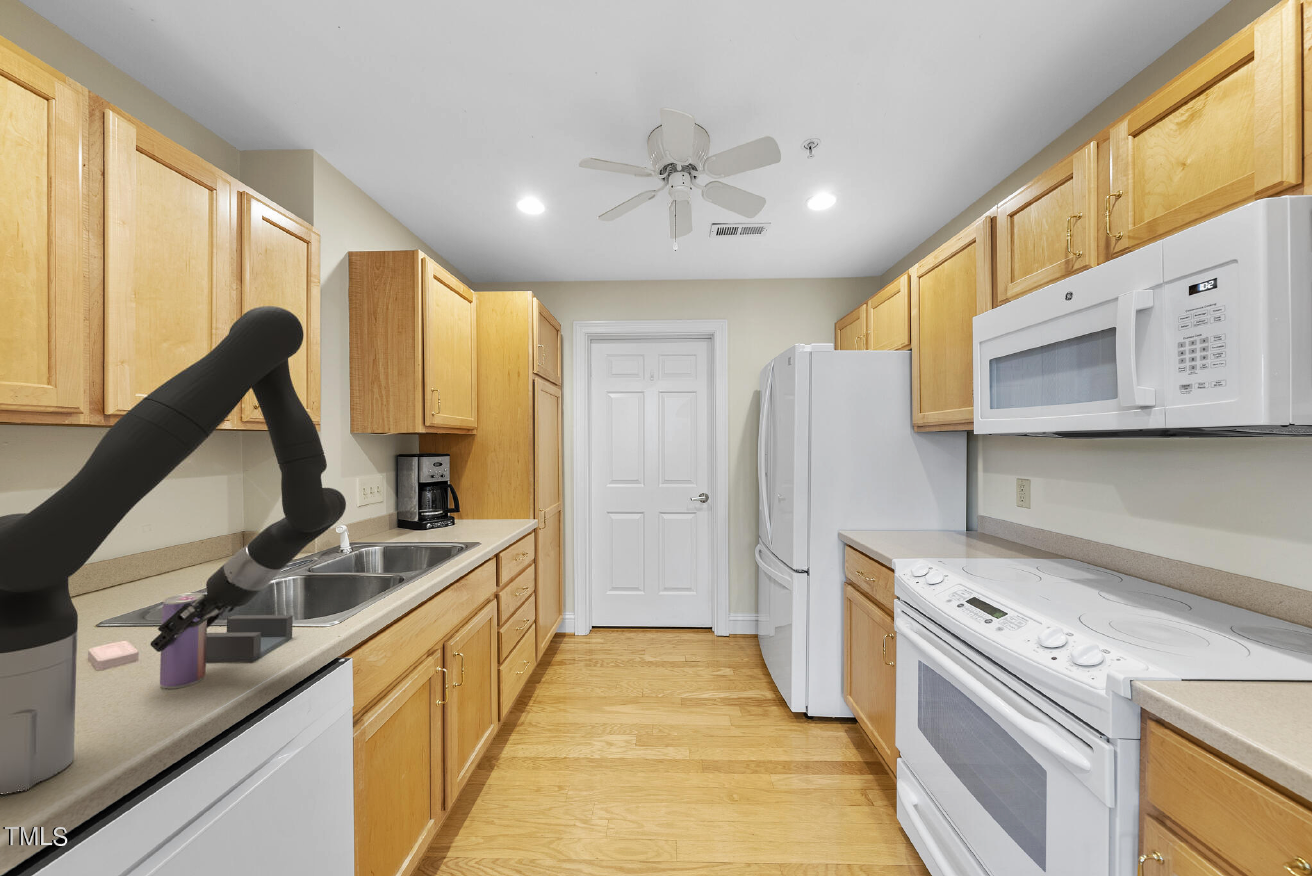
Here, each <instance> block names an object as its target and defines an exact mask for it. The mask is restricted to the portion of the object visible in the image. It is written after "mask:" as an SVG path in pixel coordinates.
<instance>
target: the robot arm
mask: <svg viewBox="0 0 1312 876" xmlns="http://www.w3.org/2000/svg"><path fill="white" fill-rule="evenodd" d="M304 334H305V333H304V329H303V325H302V323H301V321H300V320H299V318H298V316H296V315H295V314H294V313H293V312H291V311H289V310H287V309H285V308H282V307H279V306H271V305H266V306H265V305H264V306H259V307H255V308H251V309H250V310H248V311H246V312H245V313H243V315H242V316H241V315H240V317H239V318H238V319H237V320H236V321H235V322H233V324H232V325H231V327H230V328H229V331H228V334H227V335H226V336H225V337H224V338H223V339H222V340H221V341H220V343H218V344H217V345H216V346H215V347H214V348H213V349H212V350H211V351H209V352H208V353H207V354H206V355H205V356H202V358H200V359H199V360H197V361H196V362H194V363H192V364H191V365H190V366H188V367H187V368H185V369H183V370H181V371H180V372H179V373H177V374H176V375H174V376H172V377H171V378H170V379H168V380H166V381H165V382H164V383H162V384H161V385H159V386H158V387H157V388H156V389H155V390H153V391H151V392H150V393H149V394H147V395H146V396H145V397H144V398H142V399H141V400H140V401H139V402H138V403H136V405H134V406H133V407H132V408H131V409H129V410H128V411H127V412H126V413H125V414H124V415H122V416H121V417H120V418H119V419H118V420H117V421H116V422H115V423H114V424H113V425H112V426H111V427H110V428H109V429H108V430H107V432H106V433H105V435H104V436H102V438H101V440H100V441H99V443H98V444H97V446H96V447H95V448H94V450H93V451H92V453H91V455H90V456H89V458H88V459H87V460H86V462H85V464H83V466H82V467H81V469H80V470H79V471H78V472H77V474H76V475H74V476H73V478H71V480H69V481H68V482H67V483H66V484H65V485H64V486H62V487H61V488H60V489H58V490H57V491H56V492H55V493H53V494H52V495H51V496H50V497H48V498H47V499H46V500H45V501H43V502H42V503H40V504H39V505H37V506H36V507H35V508H34V509H32V510H31V511H29V512H25V513H20V512H19V513H11V514H5V515H1V516H0V794H1V793H3V794H4V793H7V792H8V793H9V792H15V791H18V790H19V791H20V790H25V791H28V790H29V788H30V789H31V788H32V787H34V785H36V783H37V784H39V783H41V782H43V781H45V780H47V779H49V778H51V777H53V776H55V775H57V774H59V773H60V772H62V771H63V770H64V769H67V767H68V766H70V765H71V764H72V762H73V761H74V759H75V736H76V735H75V732H76V730H75V729H76V727H75V726H76V725H75V724H76V721H75V720H76V695H77V694H76V689H77V688H76V687H77V658H78V655H77V653H78V628H79V627H78V625H79V621H78V619H79V618H78V617H79V614H78V611H77V609H76V607H75V605H74V604H73V600H72V598H71V593H70V591H69V590H70V589H69V578H70V577H72V576H73V575H75V573H77V572H78V571H79V570H80V568H82V567H83V566H84V565H85V563H86V562H87V561H89V559H90V558H91V557H92V556H93V554H94V553H95V552H96V551H97V550H98V549H99V547H100V546H101V545H102V544H103V542H105V540H106V539H107V538H108V536H109V535H110V534H111V532H112V531H114V529H115V528H116V527H117V526H118V525H119V524H120V522H121V521H122V520H123V519H124V518H125V516H126V515H127V514H128V513H129V512H130V511H131V510H132V509H133V508H134V507H135V506H136V505H137V504H138V503H139V502H140V501H141V500H142V499H144V497H146V496H147V495H148V494H149V493H150V492H152V490H154V489H155V488H156V487H157V486H158V485H159V484H160V483H161V482H162V481H163V480H164V479H165V478H167V477H168V476H169V474H171V473H172V472H173V471H174V470H175V469H176V468H177V467H178V466H179V465H180V464H182V462H184V461H185V460H186V459H187V458H188V457H190V455H191V454H193V453H194V452H195V451H196V450H197V449H198V448H199V447H200V446H201V445H202V444H203V443H204V442H205V441H206V440H207V439H208V438H209V437H210V436H211V435H212V434H213V433H214V431H216V429H217V428H218V427H220V425H221V424H222V423H223V422H224V420H226V418H228V416H229V415H230V414H231V413H232V412H233V410H234V409H235V408H236V407H238V405H239V403H240V402H241V401H242V399H244V397H245V396H246V395H247V394H248V392H249V391H250V390H252V392H253V394H254V396H255V399H256V401H257V404H258V407H259V409H260V411H261V414H262V416H263V420H264V422H265V426H266V427H267V431H268V434H269V438H270V442H271V444H272V448H273V451H274V455H275V458H276V462H277V464H278V467H279V470H280V473H281V479H280V482H281V484H280V486H281V507H282V511H283V515H284V517H283V518H281V519H280V520H277V521H275V522H273V523H272V524H270V525H269V526H267V527H266V528H264V529H263V530H262V531H261V532H260V533H259V534H257V535H256V536H255V538H253V539H252V540H251V541H250V542H249V543H248V544H246V545H244V546H243V548H242V547H241V548H240V549H239V550H238V551H237V552H236V553H235V554H234V555H232V557H230V558H229V559H228V560H227V561H226V562H224V564H222V565H221V566H220V567H219V568H218V569H217V570H216V571H215V572H214V573H213V574H211V576H210V577H208V579H207V580H206V583H205V586H206V588H205V589H206V593H205V594H204V595H202V596H201V597H199V598H198V599H197V600H196V601H195V603H193V604H191V603H187V604H185V605H183V607H181V608H180V609H179V610H178V611H177V612H176V613H175V614H174V615H172V616H171V617H170V618H169V619H168V620H167V621H166V622H164V623H163V624H162V625H161V624H160V625H159V627H157V630H158V631H159V632H160V633H159V634H158V635H157V636H156V637H155V638H154V639H153V640H152V641H150V647H152V649H154V650H155V651H156V652H157V653H161V651H163V650H164V649H166V648H167V647H168V646H169V645H170V644H171V643H172V642H173V641H174V640H175V639H176V638H178V637H179V636H180V635H181V634H183V633H184V632H185V631H187V630H188V629H190V628H196V627H197V626H199V625H200V624H202V623H203V622H204V621H206V620H207V629H208V628H209V627H211V625H212V624H213V623H215V622H216V621H217V620H218V619H220V618H222V617H224V615H226V614H227V613H230V612H233V611H234V610H235V609H236V607H237V608H239V607H242V606H245V605H246V604H248V603H249V602H250V601H251V600H252V599H254V598H255V596H257V595H258V594H259V593H260V592H261V591H263V589H264V588H265V587H266V586H268V585H269V584H270V583H271V582H272V581H274V579H276V577H277V576H278V575H279V573H280V572H281V571H282V570H283V569H284V568H285V567H286V566H287V565H289V563H291V561H292V560H293V559H295V558H296V557H297V555H299V553H300V552H301V551H302V550H303V549H305V548H306V547H307V546H308V545H309V544H310V543H312V542H313V541H315V540H316V539H317V538H318V537H320V536H321V535H322V534H324V533H325V532H326V531H328V530H329V529H331V527H333V526H334V525H335V524H336V523H338V522H339V520H340V519H341V518H342V517H343V515H344V514H345V511H346V507H347V501H346V498H345V496H344V495H343V493H342V492H340V491H339V490H337V489H335V488H332V487H323V482H322V475H323V473H324V472H325V471H326V470H327V466H328V465H327V459H326V456H325V452H324V449H323V445H322V442H321V438H320V436H319V432H318V430H317V428H316V425H315V422H314V421H313V419H312V417H311V415H310V414H309V412H308V411H307V409H306V408H305V406H304V404H303V403H302V401H301V400H300V398H299V396H298V394H297V391H296V390H295V386H294V384H293V381H292V376H291V372H290V365H289V358H291V357H293V356H294V355H295V354H297V352H299V350H300V348H301V347H302V344H303V341H304ZM196 617H197V618H198V619H200V620H198V621H196V622H194V621H193V619H195V618H196ZM58 772H59V773H58ZM54 774H55V775H54ZM40 781H41V782H40ZM38 782H39V783H38ZM27 789H28V790H27ZM15 793H16V792H15ZM4 795H5V794H4Z"/></svg>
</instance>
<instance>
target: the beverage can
mask: <svg viewBox="0 0 1312 876" xmlns="http://www.w3.org/2000/svg"><path fill="white" fill-rule="evenodd" d="M204 594H206V593H204V592H190V593H189V592H188V593H182V594H176V595H172V596H169V597H166V598H165V599H163V604H162V606H161V623H160V626H161V625H162V624H163V623H164V622H166V621H167V620H168V619H169V618H170V617H171V616H172V615H174V614H175V613H176V612H177V611H178V610H179V609H180V608H181V607H183V605H185V604H187V603H191V604H193V603H195V601H196V600H197V599H198V598H199V597H201V596H202V595H204ZM198 620H200V619H198V618H197V617H196V618H195V619H193V621H194V622H196V621H198ZM207 633H208V628H207V620H206V621H204V622H203V623H202V624H200V625H199V626H197V627H196V628H190V629H188V630H187V631H185V632H184V633H183V634H181V635H180V636H179V637H178V638H176V639H175V640H174V641H173V642H172V643H171V644H170V645H169V646H168V647H167V648H166V649H164V650H163V651H160V664H159V667H160V669H159V685H160V686H161V687H162V688H163V689H167V690H175V689H181V688H185V687H186V688H187V687H190V686H193V685H195V684H198V683H199V682H201V681H202V679H203V678H204V677H205V676H206V672H207V669H206V668H207V667H206V666H207V663H206V641H207Z"/></svg>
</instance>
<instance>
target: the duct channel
mask: <svg viewBox="0 0 1312 876" xmlns="http://www.w3.org/2000/svg"><path fill="white" fill-rule="evenodd" d="M293 617H294V616H293V614H279V615H278V614H259V615H258V614H257V615H254V614H252V615H251V614H250V615H247V614H244V615H243V614H241V615H240V614H238V615H232V616H230V617H228V618H227V619H226V632H207V641H206V664H207V663H208V664H209V663H211V664H212V663H213V664H215V663H216V664H217V663H255V662H256V661H258V660H259V659H261V658H262V657H264V656H265V655H267V654H269V653H270V652H272V651H274V650H275V649H277V648H278V647H280V646H282V645H283V644H285V643H287V642H288V641H290V640H292V639H293V623H294V622H293Z"/></svg>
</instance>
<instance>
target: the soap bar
mask: <svg viewBox="0 0 1312 876" xmlns="http://www.w3.org/2000/svg"><path fill="white" fill-rule="evenodd" d="M87 659H88V661H89V662H90V663H91V664H92V666H93V667H94V668H95V669H96V670H97V671H104V669H105V670H109V669H112V667H113V668H117V667H120V665H121V666H124V665H129V664H132V663H136V662H138V661H139V650H137V649H136V648H135V647H134V645H132V644H131V643H130V642H129V641H127V640H122V641H117V642H113V643H107V644H103V645H98V646H93V647H91V648H89V649H88V652H87Z"/></svg>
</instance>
